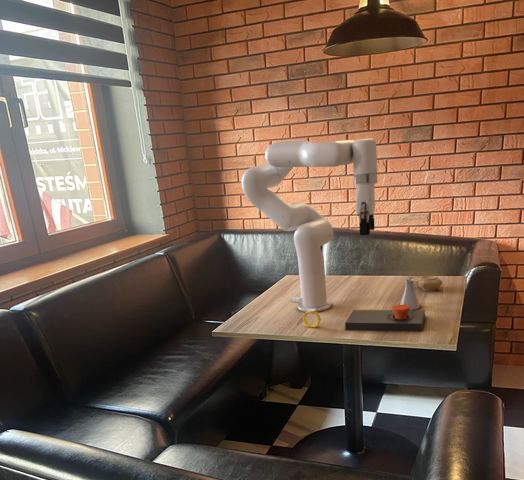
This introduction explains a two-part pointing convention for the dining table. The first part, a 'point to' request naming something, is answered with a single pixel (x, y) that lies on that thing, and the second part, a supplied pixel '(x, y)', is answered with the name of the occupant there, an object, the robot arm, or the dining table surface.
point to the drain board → (385, 320)
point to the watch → (315, 314)
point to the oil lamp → (427, 282)
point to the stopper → (401, 311)
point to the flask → (410, 295)
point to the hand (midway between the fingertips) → (367, 232)
